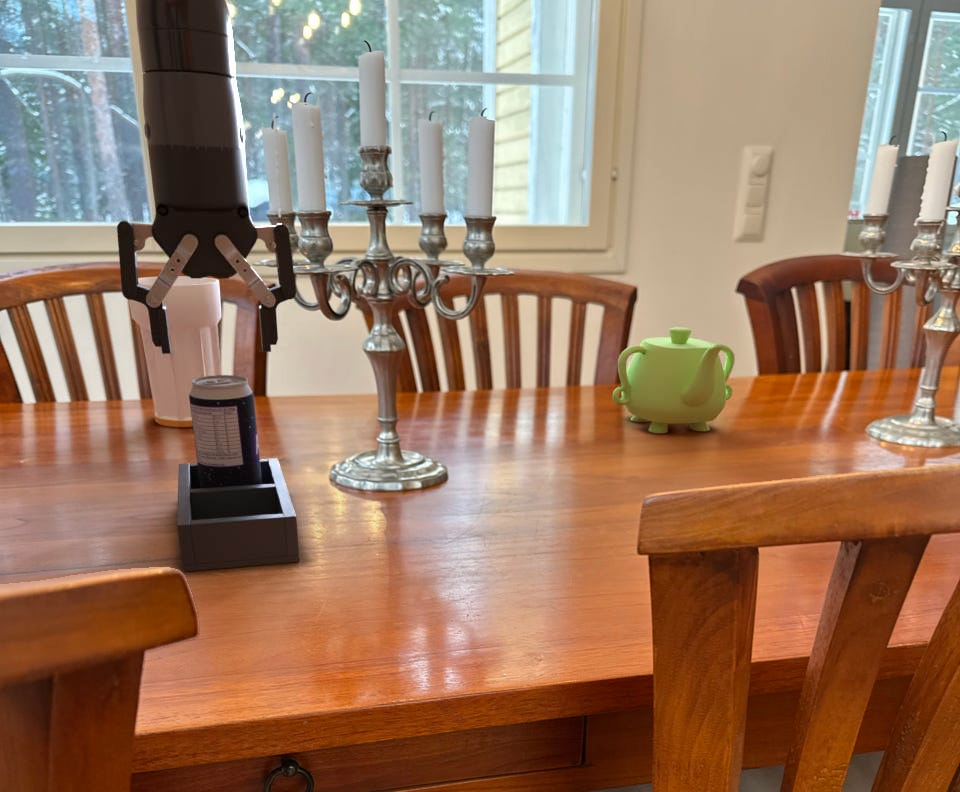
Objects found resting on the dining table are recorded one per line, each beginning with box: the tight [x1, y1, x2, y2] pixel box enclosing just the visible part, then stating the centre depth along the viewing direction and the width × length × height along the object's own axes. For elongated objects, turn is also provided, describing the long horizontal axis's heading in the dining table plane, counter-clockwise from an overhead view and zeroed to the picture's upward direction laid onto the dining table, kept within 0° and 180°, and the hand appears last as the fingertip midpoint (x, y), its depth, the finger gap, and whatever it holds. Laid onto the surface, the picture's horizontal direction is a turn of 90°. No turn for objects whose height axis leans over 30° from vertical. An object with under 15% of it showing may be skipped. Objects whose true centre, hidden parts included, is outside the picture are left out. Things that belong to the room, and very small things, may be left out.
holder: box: [176, 457, 301, 573], centre depth 82 cm, size 10×18×4 cm, turn 16°
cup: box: [127, 275, 222, 428], centre depth 116 cm, size 11×11×17 cm
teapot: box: [612, 327, 736, 434], centre depth 119 cm, size 16×14×13 cm
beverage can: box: [189, 374, 262, 488], centre depth 83 cm, size 6×6×12 cm
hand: (217, 351), depth 79 cm, fingers open, 8 cm apart
